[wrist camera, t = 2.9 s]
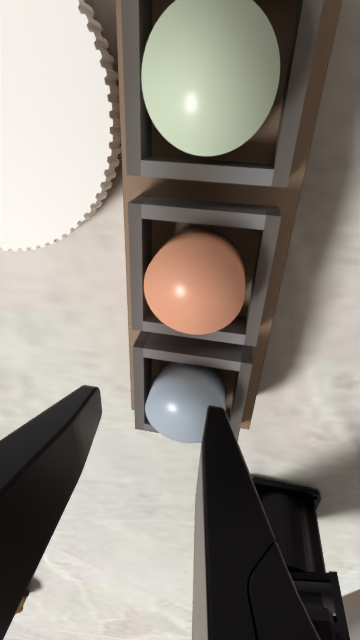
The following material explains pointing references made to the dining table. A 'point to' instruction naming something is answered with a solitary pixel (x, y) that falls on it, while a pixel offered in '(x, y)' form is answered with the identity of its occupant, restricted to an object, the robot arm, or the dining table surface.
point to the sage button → (210, 74)
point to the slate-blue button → (184, 400)
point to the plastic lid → (54, 120)
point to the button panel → (218, 199)
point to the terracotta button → (196, 282)
